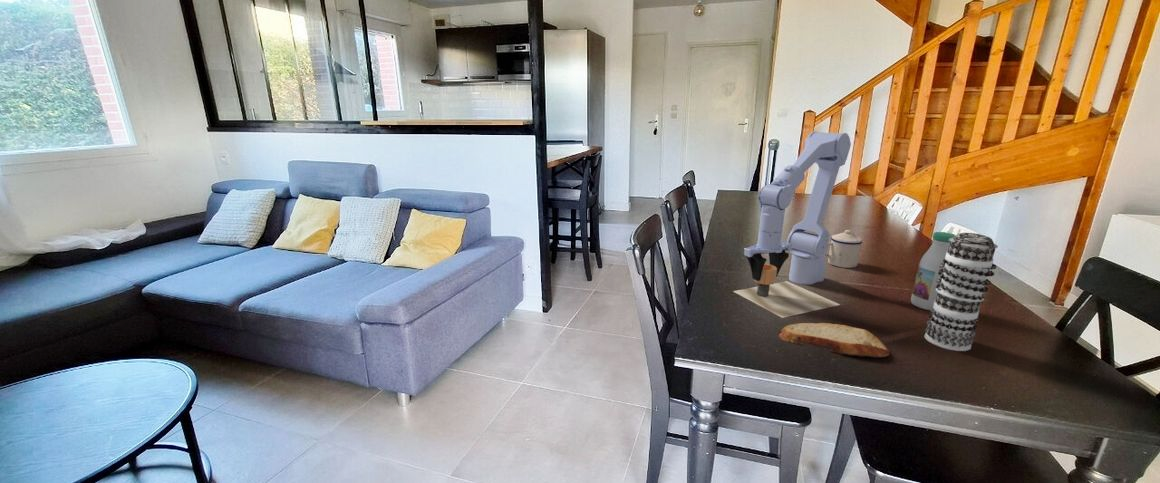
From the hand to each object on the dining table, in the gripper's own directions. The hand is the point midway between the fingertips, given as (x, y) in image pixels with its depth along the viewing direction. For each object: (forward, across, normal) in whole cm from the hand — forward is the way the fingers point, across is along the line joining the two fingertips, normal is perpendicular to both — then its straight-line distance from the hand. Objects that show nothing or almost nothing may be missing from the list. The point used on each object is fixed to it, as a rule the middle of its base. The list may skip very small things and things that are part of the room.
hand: (764, 278), depth 125 cm
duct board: (+6, +4, -4) cm, 8 cm away
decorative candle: (+6, +21, -35) cm, 41 cm away
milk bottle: (+6, +37, -21) cm, 43 cm away
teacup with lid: (+6, +44, +12) cm, 46 cm away
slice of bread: (+6, -4, -26) cm, 27 cm away
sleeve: (+1, 0, 0) cm, 1 cm away
